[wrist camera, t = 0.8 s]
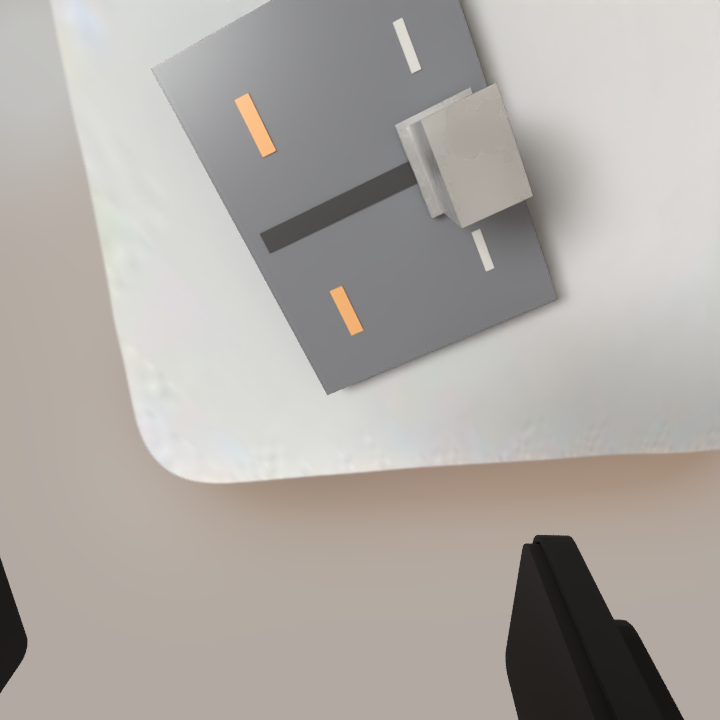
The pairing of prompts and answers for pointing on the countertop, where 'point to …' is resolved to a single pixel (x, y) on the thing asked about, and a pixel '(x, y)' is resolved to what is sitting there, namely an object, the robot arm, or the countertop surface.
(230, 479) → the countertop surface
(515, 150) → the slide lever
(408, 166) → the panel
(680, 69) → the countertop surface
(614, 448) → the countertop surface
